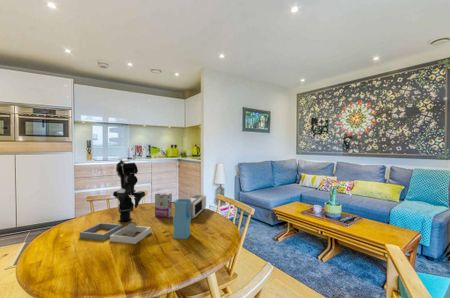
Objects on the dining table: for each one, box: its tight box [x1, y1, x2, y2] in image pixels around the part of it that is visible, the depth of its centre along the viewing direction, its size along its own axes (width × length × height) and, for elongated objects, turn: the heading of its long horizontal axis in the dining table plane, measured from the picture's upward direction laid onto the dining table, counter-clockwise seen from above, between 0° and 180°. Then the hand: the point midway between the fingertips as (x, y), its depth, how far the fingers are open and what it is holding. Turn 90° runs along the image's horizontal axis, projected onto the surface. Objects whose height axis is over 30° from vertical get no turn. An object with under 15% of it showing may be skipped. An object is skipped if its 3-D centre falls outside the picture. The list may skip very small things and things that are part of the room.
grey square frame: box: [79, 222, 123, 241], centre depth 123 cm, size 15×15×3 cm
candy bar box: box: [154, 192, 173, 219], centre depth 153 cm, size 11×5×16 cm, turn 73°
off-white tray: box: [109, 225, 152, 245], centre depth 119 cm, size 15×15×3 cm
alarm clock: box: [188, 194, 207, 219], centre depth 161 cm, size 27×9×12 cm, turn 168°
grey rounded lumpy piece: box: [125, 222, 137, 237], centre depth 119 cm, size 6×7×7 cm
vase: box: [172, 198, 192, 240], centre depth 121 cm, size 8×8×20 cm
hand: (129, 207), depth 133 cm, fingers open, 9 cm apart
